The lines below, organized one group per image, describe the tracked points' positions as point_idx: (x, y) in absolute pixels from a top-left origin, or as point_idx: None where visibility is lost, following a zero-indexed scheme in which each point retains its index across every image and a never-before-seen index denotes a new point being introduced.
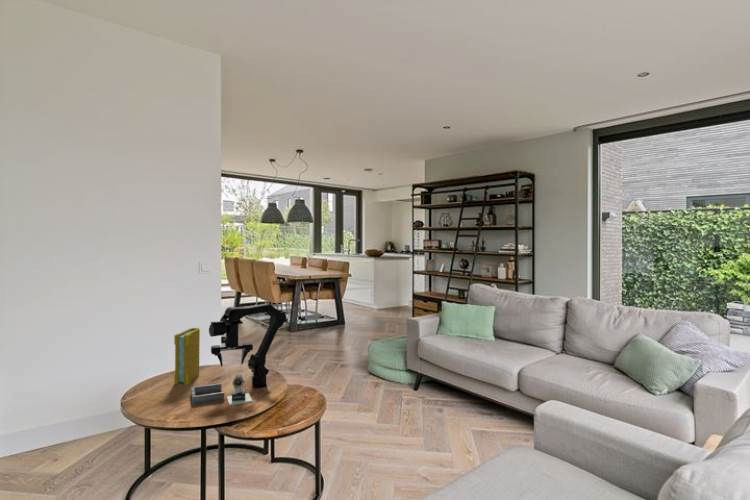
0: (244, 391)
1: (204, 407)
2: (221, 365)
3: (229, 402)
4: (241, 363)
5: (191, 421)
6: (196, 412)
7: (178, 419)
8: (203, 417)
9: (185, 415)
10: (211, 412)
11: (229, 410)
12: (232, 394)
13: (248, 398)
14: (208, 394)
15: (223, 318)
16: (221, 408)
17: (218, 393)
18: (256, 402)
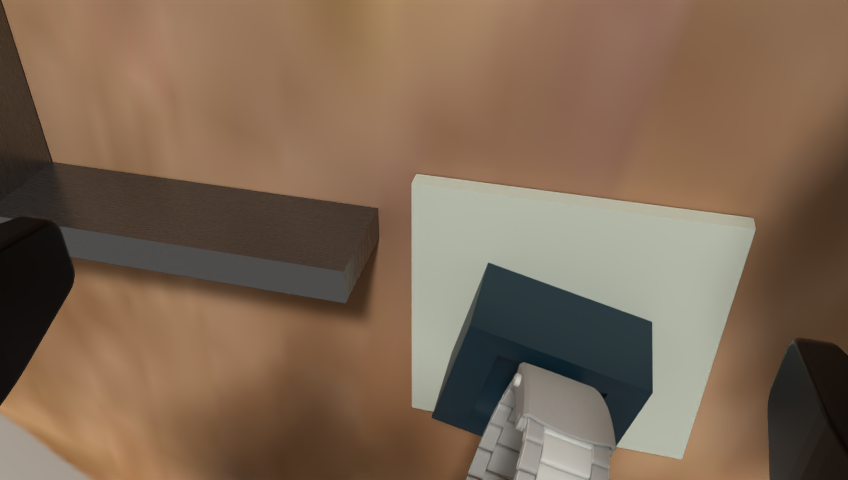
0: (619, 424)
1: (170, 306)
2: (14, 337)
3: (419, 372)
4: (774, 440)
5: (114, 476)
6: (116, 365)
7: (9, 403)
8: (190, 469)
9: (39, 369)
10: (245, 430)
11: (402, 477)
12: (439, 419)
13: (665, 388)
14: (138, 255)
15: None
16: (334, 408)
17: (265, 289)
18: (719, 475)
